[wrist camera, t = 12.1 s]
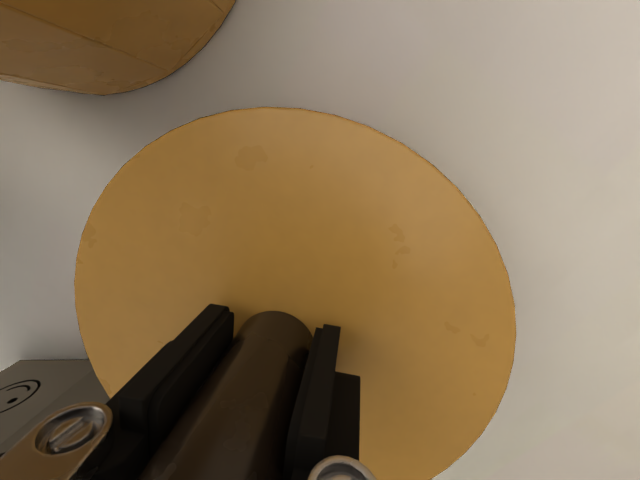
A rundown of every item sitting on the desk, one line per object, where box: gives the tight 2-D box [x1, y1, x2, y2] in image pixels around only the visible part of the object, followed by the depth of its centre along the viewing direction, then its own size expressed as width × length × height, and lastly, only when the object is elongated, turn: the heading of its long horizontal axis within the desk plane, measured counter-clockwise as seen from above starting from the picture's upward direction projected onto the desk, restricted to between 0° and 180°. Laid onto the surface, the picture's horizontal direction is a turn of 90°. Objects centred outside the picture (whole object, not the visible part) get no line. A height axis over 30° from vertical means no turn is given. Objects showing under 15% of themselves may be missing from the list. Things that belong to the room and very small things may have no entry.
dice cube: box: [0, 360, 110, 454], centre depth 14 cm, size 5×5×5 cm
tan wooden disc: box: [74, 107, 516, 480], centre depth 8 cm, size 15×15×7 cm
